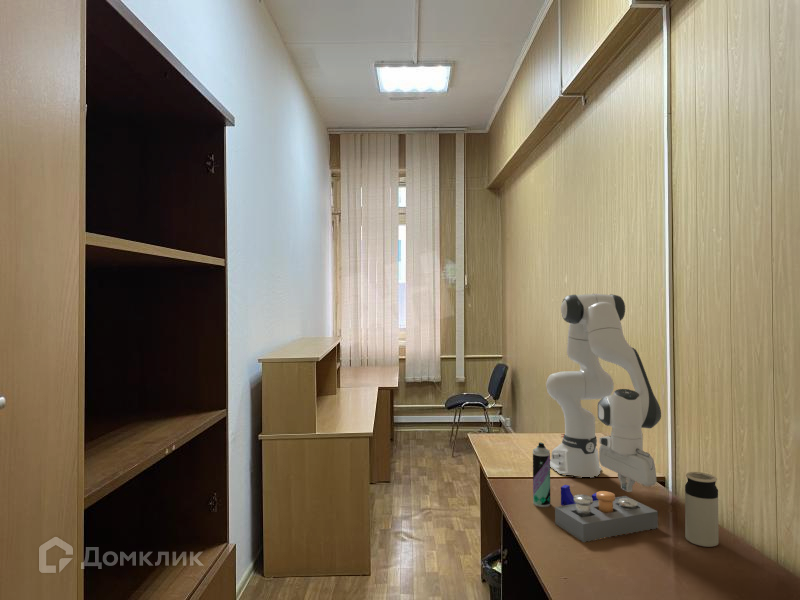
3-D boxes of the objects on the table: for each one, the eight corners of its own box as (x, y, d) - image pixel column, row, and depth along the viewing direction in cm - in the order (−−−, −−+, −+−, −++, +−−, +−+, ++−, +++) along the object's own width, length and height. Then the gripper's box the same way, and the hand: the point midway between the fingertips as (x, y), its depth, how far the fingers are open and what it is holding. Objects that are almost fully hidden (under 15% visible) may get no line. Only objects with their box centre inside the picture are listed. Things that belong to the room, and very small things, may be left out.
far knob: (614, 519, 163) (614, 499, 163) (628, 516, 164) (628, 497, 164) (627, 525, 158) (626, 505, 158) (641, 523, 159) (641, 503, 159)
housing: (555, 523, 160) (555, 507, 160) (625, 511, 169) (625, 495, 169) (583, 542, 148) (583, 524, 148) (657, 528, 156) (657, 511, 156)
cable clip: (602, 511, 170) (602, 492, 170) (596, 515, 167) (596, 496, 166) (567, 501, 178) (567, 483, 178) (561, 505, 175) (560, 486, 175)
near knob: (570, 516, 157) (569, 495, 157) (584, 513, 159) (584, 493, 159) (581, 523, 152) (581, 502, 152) (596, 520, 154) (596, 499, 154)
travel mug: (714, 550, 143) (714, 483, 142) (681, 541, 148) (681, 476, 148) (721, 540, 148) (721, 475, 148) (689, 532, 154) (689, 469, 154)
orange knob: (592, 512, 160) (592, 492, 160) (607, 510, 162) (606, 490, 162) (604, 519, 155) (604, 498, 155) (619, 516, 157) (619, 496, 157)
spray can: (529, 502, 177) (529, 441, 177) (543, 499, 179) (542, 440, 179) (540, 508, 172) (539, 446, 172) (554, 505, 174) (553, 444, 174)
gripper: (662, 453, 152) (661, 501, 153) (611, 434, 172) (611, 477, 172) (644, 456, 150) (644, 505, 151) (595, 436, 170) (595, 480, 170)
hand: (626, 490), depth 162 cm, fingers closed
